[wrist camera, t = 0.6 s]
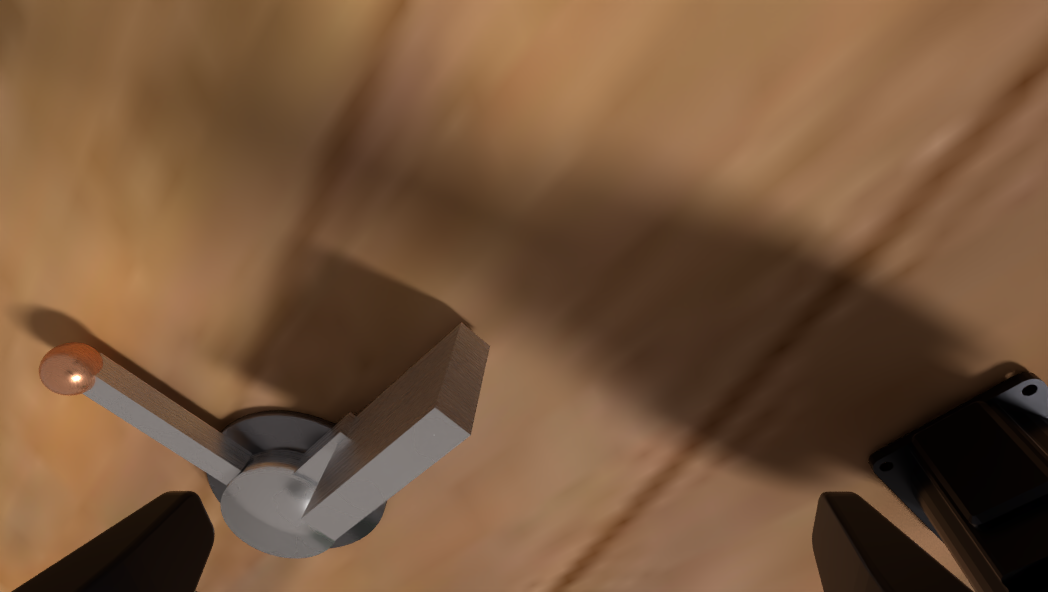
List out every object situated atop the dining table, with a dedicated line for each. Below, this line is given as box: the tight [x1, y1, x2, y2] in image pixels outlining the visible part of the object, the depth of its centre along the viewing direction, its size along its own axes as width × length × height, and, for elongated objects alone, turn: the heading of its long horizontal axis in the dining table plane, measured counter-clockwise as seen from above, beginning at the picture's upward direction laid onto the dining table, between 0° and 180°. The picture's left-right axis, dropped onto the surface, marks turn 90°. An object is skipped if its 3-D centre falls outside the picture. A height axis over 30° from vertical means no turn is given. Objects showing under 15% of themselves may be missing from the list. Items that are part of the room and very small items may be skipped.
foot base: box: [207, 411, 387, 548], centre depth 27 cm, size 8×8×1 cm
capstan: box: [39, 322, 490, 558], centre depth 22 cm, size 13×14×5 cm
